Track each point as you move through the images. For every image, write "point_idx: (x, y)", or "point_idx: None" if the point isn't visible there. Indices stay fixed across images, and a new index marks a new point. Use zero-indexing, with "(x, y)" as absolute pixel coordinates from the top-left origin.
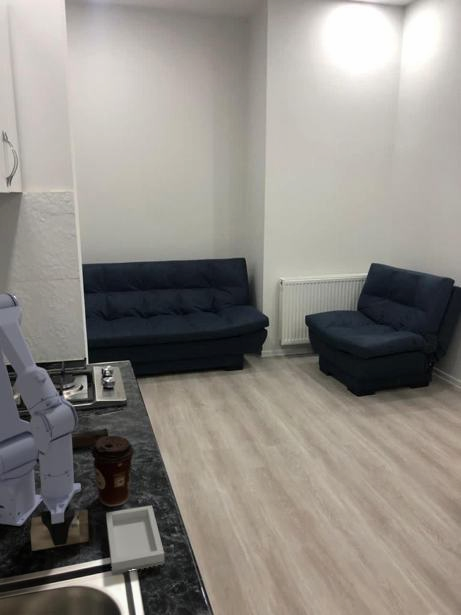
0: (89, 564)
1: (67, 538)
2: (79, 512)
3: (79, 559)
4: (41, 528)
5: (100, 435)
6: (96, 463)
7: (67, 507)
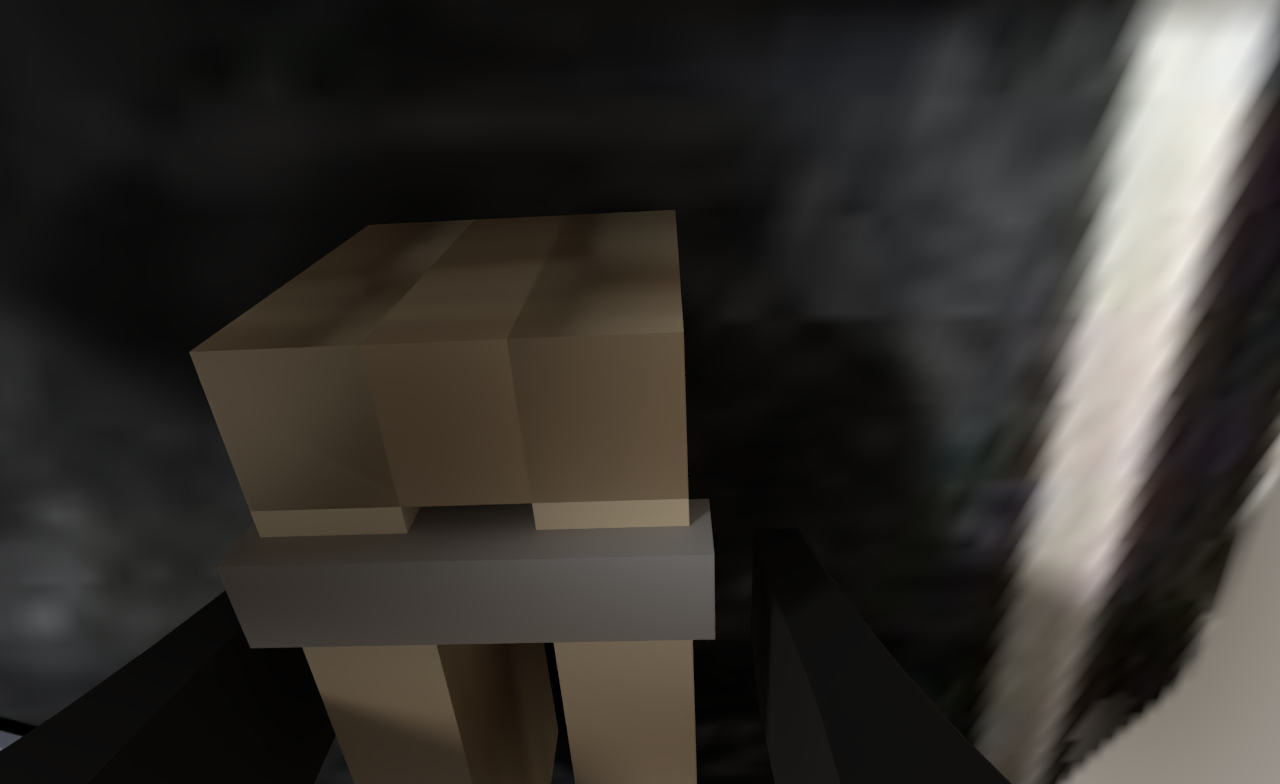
0: (1171, 195)
1: (823, 567)
2: (303, 494)
3: (1005, 325)
4: None
5: None
6: None
7: (192, 699)
